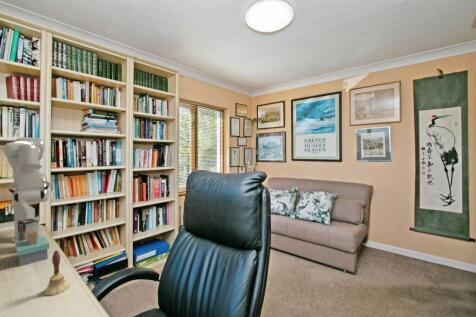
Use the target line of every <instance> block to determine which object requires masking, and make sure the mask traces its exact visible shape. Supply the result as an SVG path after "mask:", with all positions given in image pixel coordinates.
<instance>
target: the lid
mask: <svg viewBox="0 0 476 317" xmlns="http://www.w3.org/2000/svg"><path fill="white" fill-rule="evenodd" d="M14 245H15V246H14V247H15V251H16V256H17V257H18V256H20V255H24V254H28V253H32V252H36V251H40V250H44V249H47V250H49V249H50V242H49V241H48V239H47V237H46V236H45V235H42V236H39V237H37V232H36V230H35V229H33V230H27V240H23V241H18V242H14Z"/></svg>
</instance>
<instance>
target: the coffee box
mask: <svg viewBox="0 0 476 317" xmlns="http://www.w3.org/2000/svg"><path fill="white" fill-rule="evenodd" d="M33 229H35V230H36V232H37V237H40V230H39V229H40V224H39V220H38V219H36V218H35V219H32V218H31V219H25V220H20V221H18V238H19V241H23V240H27V230H33Z"/></svg>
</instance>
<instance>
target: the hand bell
mask: <svg viewBox="0 0 476 317" xmlns="http://www.w3.org/2000/svg"><path fill="white" fill-rule="evenodd" d="M51 261H52V264H53V275H51V276H50V278H49V281H48V284H47V287H46V288H45V289H44V291H43V292H42V293H43V295H44V296H47V297H48V296H49V297H51V295H53V296H56V294H57V295H60V294H62V293H64V292H65V290H66V291H67V290H68V289H69V288H70V283H68V282H67V281H66V279H65V275H64V274H63V273H60V263H61V254H60V252H59V250H58V249H57V250H54V251H53V254H52V258H51ZM59 293H60V294H59Z"/></svg>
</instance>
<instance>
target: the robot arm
mask: <svg viewBox="0 0 476 317" xmlns="http://www.w3.org/2000/svg"><path fill="white" fill-rule="evenodd" d="M3 151H4V156H5V157H6V159H7V160H6V161H7V162H8V164H9V165H10V167H11V169H12V175H13V177H12V178H13V183H10V184H9V185H6V187H5V188H6V189H7V190H8V191H9V192H10V193H11V202H12V207H13V216H14V217H13V218H14V220H13V222H14V225H13V226H14V237H13V238H11V243H15V242H18V241H19V238H18V221H20V220H25V219H31V218H32V219H35V220H36V210H35V208H34V207H33V206H31V204H37V203H38V204H39V203H44V202H47V201H48V200H49V197H50V195H49V194H50V192H49V187H50V186H51V184H52V183H51V182H50V181H48V177H47V176H46V174H44V173H42V172H41V170H40V169H42V168H43V165H41V164H39V161H40V160H42V159H43V157H44V151H45V142H44V141H43V139H41V138H38V137H37V138H35V137H19V138H16V139H14V140H13V141H12V142H11V141H10V142H7V143H6V144H5V145H4V150H3ZM12 187H15V188H16V189H15V190H14V189H12Z"/></svg>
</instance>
